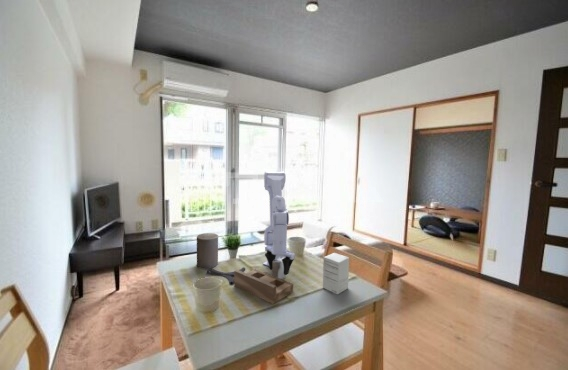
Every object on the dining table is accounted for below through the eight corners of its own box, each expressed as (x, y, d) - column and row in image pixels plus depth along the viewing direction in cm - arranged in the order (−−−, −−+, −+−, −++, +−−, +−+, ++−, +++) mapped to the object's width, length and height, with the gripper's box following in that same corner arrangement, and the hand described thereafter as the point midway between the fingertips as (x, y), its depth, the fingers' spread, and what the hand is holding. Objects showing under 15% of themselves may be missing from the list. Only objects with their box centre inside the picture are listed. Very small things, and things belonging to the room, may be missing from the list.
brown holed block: (255, 275, 112) (255, 262, 112) (292, 291, 100) (293, 276, 99) (234, 285, 103) (234, 270, 103) (273, 304, 91) (273, 287, 90)
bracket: (214, 267, 121) (214, 261, 121) (245, 270, 119) (245, 264, 118) (198, 282, 107) (198, 275, 107) (233, 286, 104) (233, 279, 104)
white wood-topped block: (281, 274, 114) (282, 256, 114) (287, 276, 113) (287, 258, 112) (272, 279, 110) (272, 260, 109) (277, 281, 108) (278, 262, 107)
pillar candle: (192, 267, 119) (192, 235, 118) (203, 259, 129) (203, 229, 127) (212, 270, 117) (212, 237, 116) (221, 261, 127) (222, 231, 125)
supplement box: (332, 281, 108) (334, 252, 107) (348, 288, 103) (350, 257, 102) (321, 287, 103) (323, 256, 102) (337, 295, 98) (339, 262, 97)
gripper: (260, 238, 110) (259, 269, 112) (287, 246, 101) (286, 280, 103) (271, 234, 116) (270, 264, 117) (298, 241, 107) (297, 274, 108)
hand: (279, 271), depth 110 cm, fingers open, 7 cm apart
